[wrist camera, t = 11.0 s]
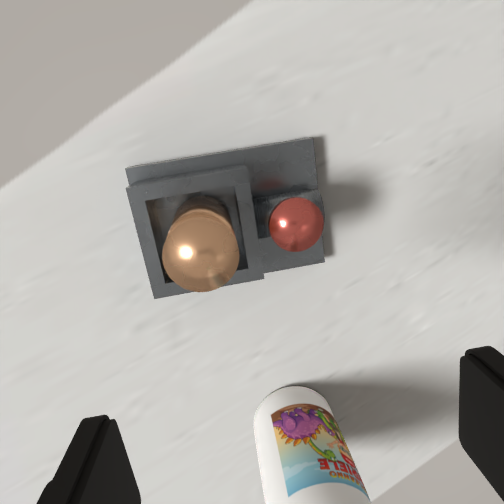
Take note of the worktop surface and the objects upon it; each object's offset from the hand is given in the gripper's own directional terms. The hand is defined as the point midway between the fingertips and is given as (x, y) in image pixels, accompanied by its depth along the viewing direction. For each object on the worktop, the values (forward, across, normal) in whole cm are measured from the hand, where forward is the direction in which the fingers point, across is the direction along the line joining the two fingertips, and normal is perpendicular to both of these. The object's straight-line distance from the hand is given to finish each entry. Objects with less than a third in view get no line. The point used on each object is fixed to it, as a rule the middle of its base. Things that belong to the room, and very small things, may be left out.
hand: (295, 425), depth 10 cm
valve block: (+22, +1, -1) cm, 22 cm away
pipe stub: (+21, +3, -1) cm, 21 cm away
